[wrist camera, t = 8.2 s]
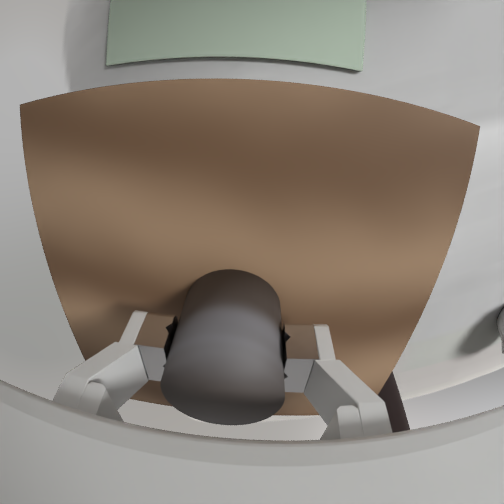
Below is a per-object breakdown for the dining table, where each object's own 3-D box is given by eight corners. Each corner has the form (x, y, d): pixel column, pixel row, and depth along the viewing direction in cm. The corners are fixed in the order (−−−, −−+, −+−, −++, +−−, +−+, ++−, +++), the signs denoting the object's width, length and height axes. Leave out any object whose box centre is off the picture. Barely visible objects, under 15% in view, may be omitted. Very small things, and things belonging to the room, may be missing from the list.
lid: (35, 101, 8) (-63, 131, 4) (464, 121, 8) (562, 160, 4) (106, 380, 16) (81, 445, 12) (363, 399, 16) (377, 469, 12)
